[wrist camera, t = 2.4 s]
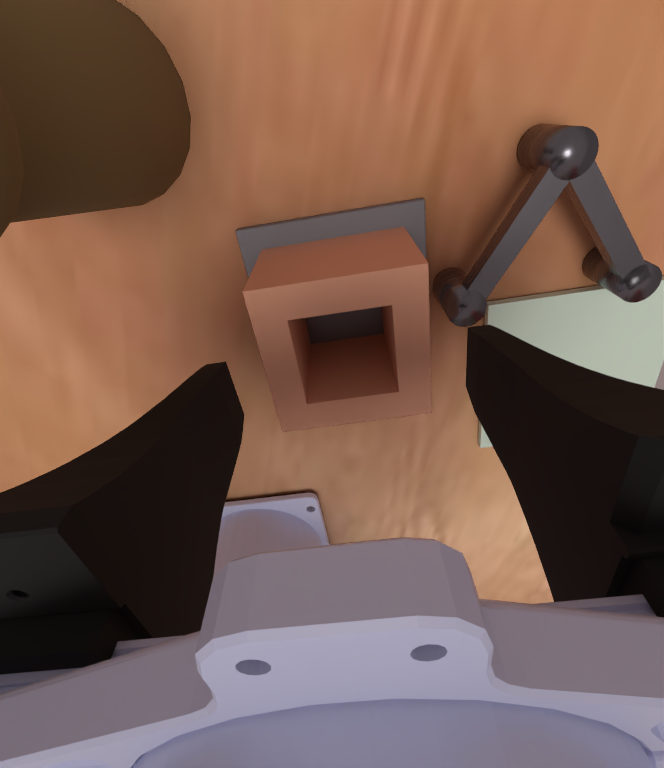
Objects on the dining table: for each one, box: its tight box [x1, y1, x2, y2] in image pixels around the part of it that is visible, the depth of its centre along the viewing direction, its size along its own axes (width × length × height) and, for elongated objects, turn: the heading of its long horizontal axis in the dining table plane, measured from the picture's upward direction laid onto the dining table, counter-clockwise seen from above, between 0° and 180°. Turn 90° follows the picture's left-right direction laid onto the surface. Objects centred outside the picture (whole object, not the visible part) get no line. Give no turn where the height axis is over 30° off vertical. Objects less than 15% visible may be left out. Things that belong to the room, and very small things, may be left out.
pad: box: [478, 276, 664, 448], centre depth 19 cm, size 8×8×1 cm
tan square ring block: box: [243, 226, 432, 432], centre depth 15 cm, size 5×5×4 cm
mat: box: [236, 198, 426, 344], centre depth 17 cm, size 7×7×1 cm
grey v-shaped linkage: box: [433, 124, 662, 327], centre depth 15 cm, size 6×7×2 cm
